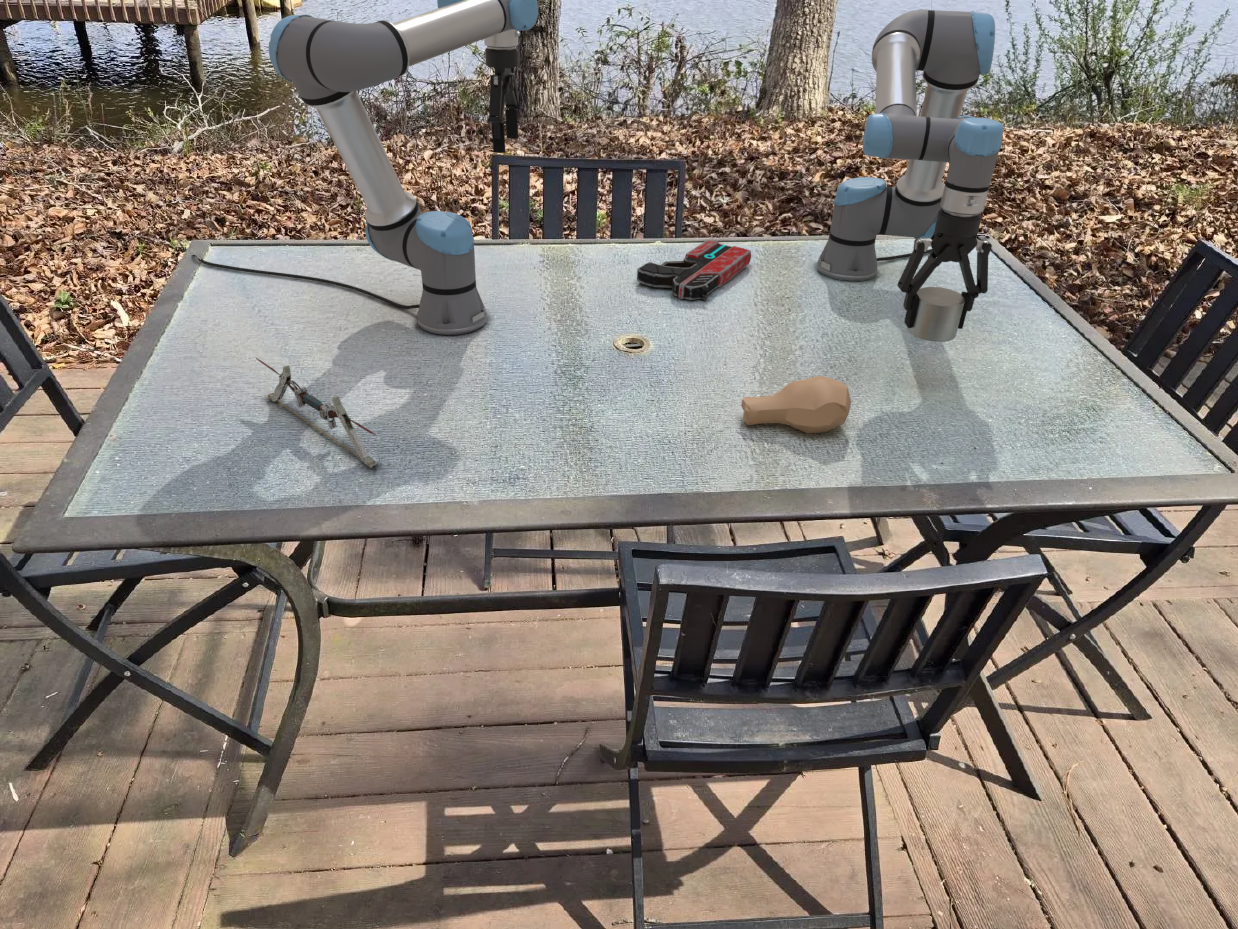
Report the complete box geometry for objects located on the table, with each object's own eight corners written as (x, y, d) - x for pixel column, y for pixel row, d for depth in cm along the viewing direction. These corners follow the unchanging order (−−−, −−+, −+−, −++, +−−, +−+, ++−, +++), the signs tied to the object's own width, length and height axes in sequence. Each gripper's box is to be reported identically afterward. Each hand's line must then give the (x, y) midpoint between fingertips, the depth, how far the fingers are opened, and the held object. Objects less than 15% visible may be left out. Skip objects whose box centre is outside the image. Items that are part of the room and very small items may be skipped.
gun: (631, 269, 213) (702, 288, 206) (689, 232, 235) (755, 248, 228) (630, 286, 216) (701, 306, 208) (688, 248, 238) (753, 264, 230)
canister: (962, 330, 172) (971, 294, 168) (947, 346, 166) (956, 309, 162) (916, 318, 176) (924, 283, 172) (900, 333, 170) (908, 297, 166)
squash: (855, 440, 159) (859, 402, 153) (745, 448, 161) (744, 411, 155) (845, 401, 167) (848, 364, 161) (739, 410, 169) (739, 373, 163)
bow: (387, 470, 147) (379, 419, 141) (378, 475, 146) (370, 423, 140) (269, 391, 168) (258, 344, 163) (260, 394, 167) (249, 347, 162)
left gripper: (505, 56, 186) (509, 159, 198) (529, 39, 207) (532, 133, 219) (470, 55, 187) (477, 157, 199) (498, 38, 207) (502, 131, 219)
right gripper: (907, 216, 154) (882, 332, 167) (1029, 218, 155) (995, 334, 168) (895, 203, 161) (872, 316, 173) (1012, 205, 161) (981, 318, 174)
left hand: (506, 144), depth 209 cm, fingers open, 13 cm apart
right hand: (933, 325), depth 170 cm, fingers closed on canister, 9 cm apart
